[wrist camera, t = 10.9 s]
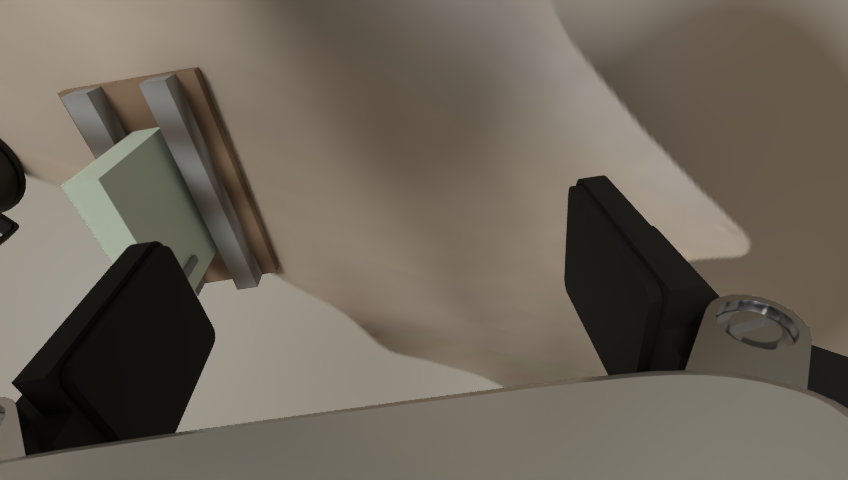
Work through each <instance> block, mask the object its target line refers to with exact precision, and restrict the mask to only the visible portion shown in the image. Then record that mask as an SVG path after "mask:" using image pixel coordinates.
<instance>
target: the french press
mask: <svg viewBox="0 0 848 480" xmlns="http://www.w3.org/2000/svg"><path fill="white" fill-rule="evenodd" d="M25 189H26V179H25V175H24V171H23V169H22V167H21V164H20V162H19V160H18V159H17V158H16V156H15V155H14V153H13V152H12V151H11V150H10V148H9V147H8V146H7V145H6V144H5V143H4V142H3V141H2V140H0V233H1V234H2V236H1V237H0V245H1V244H2V243H4V242H5V241H6V240H7V239H9V237H10V236H11V235H12V234H14V233H15V231H17V230H18V228H19V225H18V224H17V223H16V222H14V221H13V220H11V219H9V218H8V217H6V216H5V215H3V214H2V212H5V211H7V210H9V209H11V208H12V207H14V206H15V205H16V204H18V203H19V202H20V200H21V199H22V197H23V195H24V192H25Z"/></svg>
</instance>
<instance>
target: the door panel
mask: <svg viewBox="0 0 848 480" xmlns="http://www.w3.org/2000/svg"><path fill="white" fill-rule="evenodd" d="M61 187H62V188H63V190H64V191H65V193H66V194H67V196H68V197H69V199H70V200H71V202H72V203H73V205H74V206H75V208H76V209H77V211H78V212H79V214H80V215H81V217H82V218H83V220H84V221H85V223H86V224H87V226H88V227H89V229H90V230H91V232H92V233H93V235H94V236H95V238H96V239H97V241H98V242H99V244H100V245H101V247H102V248H103V250H104V251H105V253H106V254H107V256H108V257H109V259H110V260H111V262H112V263H114V262H115V261H116V260H117V259H118V258H119V256H120V255H121V254H122V253H123V252H124V251H125V249H126V248H127V247H128V246H130V245H132V244H138V243H145V242H152V241H158V242H160V243H162V244H163V245H164V246H168V247H170V248H171V250H172V251H173V253H174V255H175V256H176V258H177V260H178V262H179V264H180V266H181V268H182V270H183V271H184V273H185V275H186V277H187V279H188V281H189V283H190V285H191V287H192V288H193V290H194V291H195V289H196V288H197V286H198V284H199V282H200V280H201V279H202V277H203V275H204V273H205V271H206V270H207V268H208V266H209V264H210V262H211V261H212V259H213V257H214V255H215V253H216V252H217V250H218V248H217V246H216V244H215V242H214V240H213V238H212V236H211V234H210V231H209V229H208V227H207V225H206V223H205V221H204V219H203V217H202V215H201V213H200V211H199V209H198V207H197V205H196V203H195V200H194V198H193V196H192V194H191V192H190V190H189V188H188V186H187V184H186V182H185V180H184V178H183V176H182V174H181V171H180V169H179V167H178V165H177V163H176V161H175V159H174V157H173V155H172V153H171V151H170V149H169V147H168V145H167V143H166V140H165V138H164V136H163V134H162V132H161V130H160V128H159V127H156V128H151V129H145V130H140V131H134V132H132V133H131V134H129V135H128V136H127V137H125V138H124V139H123V140H121V141H120V142H119V143H117V144H116V145H115V146H113V147H112V148H111V149H109V150H108V151H107V152H105V153H104V154H103V155H101V156H100V157H99V158H97V159H96V160H95V161H93V162H92V163H91V164H89V165H88V166H87V167H85V168H84V169H83V170H81V171H80V172H79V173H77V174H76V175H75V176H73V177H72V178H71V179H69V180H68V181H67V182H65V183H64V184H63V185H61Z"/></svg>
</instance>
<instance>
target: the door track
mask: <svg viewBox="0 0 848 480" xmlns="http://www.w3.org/2000/svg"><path fill="white" fill-rule="evenodd" d="M57 94H58V95H59V97H60V99H61V100H62V102H63V104H64V106H65V107H66V109H67V111H68V112H69V114H70V116H71V117H72V119H73V121H74V123H75V124H76V126H77V128H78V129H79V131H80V133H81V135H82V136H83V138H84V140H85V141H86V143H87V145H88V146H89V148H90V150H91V152H92V153H93V155H94V157H95V158H96V159H97V158H99V157H100V156H101V155H103V154H104V153H105V152H107V151H108V150H109V149H111V148H112V147H113V146H115V145H116V144H117V143H119V142H120V141H121V140H123V139H124V138H125V137H127V136H128V135H129V134H131V133H132V132H134V131H140V130H145V129H151V128H156V127H159V128H160V130H161V132H162V134H163V136H164V138H165V140H166V143H167V145H168V147H169V149H170V151H171V153H172V155H173V157H174V159H175V161H176V163H177V165H178V167H179V169H180V171H181V174H182V176H183V178H184V180H185V182H186V184H187V186H188V188H189V190H190V192H191V194H192V196H193V198H194V200H195V203H196V205H197V207H198V209H199V211H200V213H201V215H202V217H203V219H204V221H205V223H206V225H207V227H208V229H209V231H210V234H211V236H212V238H213V240H214V242H215V244H216V246H217V248H218V250H217V252H216V253H215V255H214V257H213V259H212V261H211V262H210V264H209V266H208V268H207V270H206V271H205V273H204V275H203V277H202V279H201V280H200V282H199V284H198V286H197V288H196V289H195V291H194V292H195V294H196V296H198V295H199V293H200V291H201V289H202V288H203V285H204V284H205V283H209V282H215V281H221V280H228V279H233V281H234V283H235V285H236V287H237V289H245V288H251V287H257V286H258V284H259V281H260V279H261V276H262V274H266V273H273V272H277V269H278V263H277V261H276V258H275V256H274V253H273V251H272V248H271V246H270V243H269V241H268V238H267V236H266V234H265V231H264V229H263V226H262V224H261V221H260V219H259V216H258V214H257V211H256V209H255V206H254V204H253V201H252V199H251V196H250V194H249V191H248V189H247V186H246V184H245V182H244V179H243V177H242V174H241V172H240V169H239V167H238V164H237V162H236V159H235V157H234V154H233V152H232V149H231V147H230V144H229V142H228V139H227V137H226V135H225V132H224V130H223V127H222V125H221V122H220V120H219V117H218V115H217V112H216V110H215V107H214V105H213V102H212V100H211V97H210V95H209V92H208V90H207V87H206V85H205V83H204V80H203V78H202V75H201V73H200V70H199V68H198V67H196V68H191V69H185V70H179V71H173V72H167V73H161V74H155V75H150V76H144V77H138V78H132V79H126V80H120V81H115V82H109V83H103V84H97V85H91V86H85V87H79V88H74V89H68V90H64V91H62V92H60V93H57Z"/></svg>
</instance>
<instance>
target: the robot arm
mask: <svg viewBox="0 0 848 480" xmlns="http://www.w3.org/2000/svg"><path fill="white" fill-rule="evenodd" d="M564 280H565V287H566V291H567V293H568V295H569V297H570V299H571V301H572V303H573V305H574V307H575V309H576V311H577V313H578V315H579V317H580V319H581V321H582V323H583V325H584V327H585V329H586V331H587V333H588V335H589V337H590V339H591V341H592V343H593V345H594V347H595V349H596V351H597V353H598V355H599V357H600V359H601V361H602V363H603V365H604V367H605V369H606V371H607V373H608V375H607V376H597V377H587V378H579V379H571V380H564V381H556V382H548V383H539V384H530V385H523V386H515V387H507V388H500V389H492V390H485V391H477V392H470V393H462V394H454V395H447V396H439V397H431V398H424V399H416V400H409V401H402V402H394V403H386V404H379V405H372V406H365V407H357V408H350V409H343V410H335V411H328V412H320V413H314V414H306V415H300V416H292V417H284V418H278V419H270V420H263V421H255V422H248V423H241V424H235V425H227V426H220V427H213V428H207V429H199V430H192V431H185V432H178V433H175V432H176V430H177V428H178V425H179V423H180V421H181V418H182V416H183V414H184V412H185V409H186V407H187V404H188V402H189V400H190V398H191V396H192V393H193V391H194V389H195V386H196V384H197V382H198V379H199V377H200V375H201V373H202V370H203V368H204V365H205V363H206V361H207V359H208V356H209V354H210V352H211V350H212V347H213V345H214V342H215V331H214V328H213V326H212V324H211V322H210V320H209V319H208V317H207V315H206V313H205V311H204V309H203V307H202V305H201V303H200V302H199V300H198V298H197V296H196V294H195V292H194V290H193V288H192V287H191V285H190V283H189V281H188V279H187V277H186V275H185V273H184V271H183V270H182V268H181V266H180V264H179V262H178V260H177V258H176V256H175V255H174V253H173V251H172V250H171V248H170V247H168V246H164V245H163V244H162V243H160V242H158V241H152V242H145V243H138V244H132V245H130V246H128V247H127V248H126V249H125V251H124V252H123V253H122V254H121V255H120V256H119V258H118V259H117V260H116V261H115V262H114V263H113V265H112V266H111V267H110V268H109V269H108V271H107V272H106V273H105V274H104V275H103V276H102V278H101V279H100V280H99V281H98V282H97V283H96V285H95V286H94V287H93V288H92V289H91V290H90V292H89V293H88V294H87V295H86V296H85V297H84V299H83V300H82V301H81V302H80V303H79V305H78V306H77V307H76V308H75V309H74V310H73V312H72V313H71V314H70V315H69V316H68V318H67V319H66V320H65V321H64V322H63V323H62V325H61V326H60V327H59V328H58V329H57V330H56V331H55V333H54V334H53V335H52V336H51V338H49V340H48V341H47V342H46V343H45V344H44V346H43V347H42V348H41V349H40V350H39V351H38V353H37V354H36V355H35V356H34V357H33V358H32V360H31V361H30V362H29V363H28V364H27V365H26V367H25V368H24V369H23V370H22V371H21V373H20V374H19V375H18V376H17V377H16V378H15V380H14V381H13V382H12V384H13V385H14V386H15V387H16V388H17V389H18V390H19V391H20V392H21V393H22V396H21V397H20V398H19V399H18V401H17V402H16V403H15V402H14V401H13V400H12V399H9V398H6V397H0V480H848V357H846V356H843V355H840V354H837V353H834V352H831V351H828V350H825V349H822V348H819V347H816V346H813V345H812V337H811V331H810V328H809V327H808V326H807V324H806V323H805V322H804V320H803V319H802V318H801V317H799V316H798V315H797V314H796V313H795V312H793V311H792V310H791V309H789V308H787V307H785V306H783V305H781V304H779V303H777V302H774V301H772V300H769V299H766V298H763V297H757V296H752V295H745V294H741V295H740V294H738V295H737V294H732V295H727V296H722V297H719V295H718V294H717V293H716V292H715V291H714V290H713V289H712V288H711V287H710V286H709V285H708V284H707V282H706V281H705V280H704V279H703V278H702V277H701V276H700V275H699V274H698V273H697V272H696V271H695V269H694V268H693V267H692V266H691V265H690V264H689V263H688V262H687V261H686V260H685V259H684V257H683V256H682V255H681V254H680V253H679V252H678V251H677V250H676V249H675V248H674V247H673V246H672V244H671V243H670V242H669V241H668V240H667V239H666V238H665V237H664V236H663V235H662V234H661V232H660V231H659V230H658V229H656V228H655V227H654V226H651V225H650V224H649V223H648V222H647V221H646V220H645V219H644V217H643V216H642V215H641V214H640V213H639V212H638V211H637V210H636V209H635V208H634V206H633V205H632V204H631V203H630V202H629V201H628V200H627V199H626V198H625V197H624V195H623V194H622V193H621V192H620V191H619V190H618V189H617V188H616V187H615V186H614V184H613V183H612V182H611V181H610V180H609V179H608V178H607V177H606V176H605V175H604V176H596V177H589V178H583V179H579V180H578V181H577V184H576V186H571V187H570V188H569V193H568V214H567V234H566V255H565V276H564Z"/></svg>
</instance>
